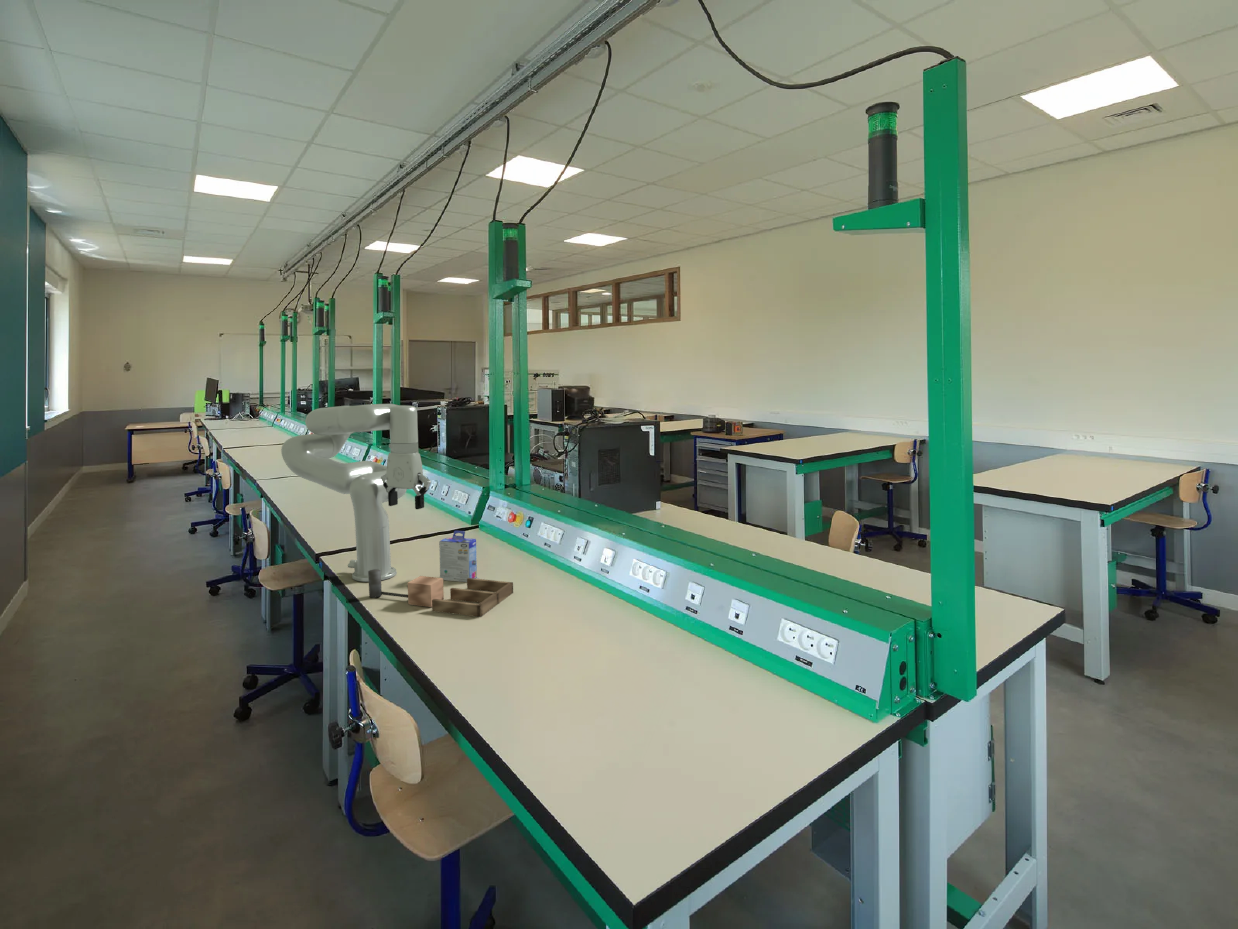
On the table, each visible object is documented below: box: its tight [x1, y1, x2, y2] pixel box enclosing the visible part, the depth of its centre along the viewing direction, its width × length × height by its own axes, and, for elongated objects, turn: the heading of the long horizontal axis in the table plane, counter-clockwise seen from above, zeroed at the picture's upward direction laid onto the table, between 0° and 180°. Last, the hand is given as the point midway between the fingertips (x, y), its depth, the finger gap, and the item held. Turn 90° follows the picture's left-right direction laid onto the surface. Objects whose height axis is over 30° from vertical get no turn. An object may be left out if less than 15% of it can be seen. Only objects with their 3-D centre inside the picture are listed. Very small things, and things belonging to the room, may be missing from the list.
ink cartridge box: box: [439, 530, 478, 583], centre depth 187 cm, size 10×6×14 cm, turn 79°
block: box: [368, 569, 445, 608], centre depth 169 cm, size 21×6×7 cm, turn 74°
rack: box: [431, 578, 514, 618], centre depth 169 cm, size 14×19×3 cm
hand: (406, 506), depth 181 cm, fingers open, 9 cm apart
